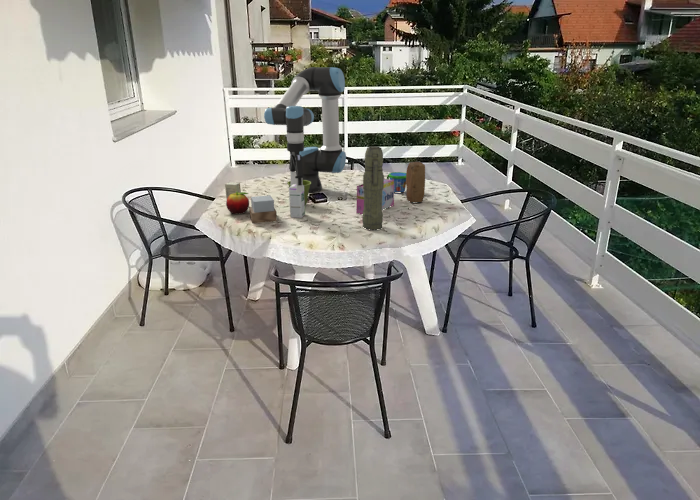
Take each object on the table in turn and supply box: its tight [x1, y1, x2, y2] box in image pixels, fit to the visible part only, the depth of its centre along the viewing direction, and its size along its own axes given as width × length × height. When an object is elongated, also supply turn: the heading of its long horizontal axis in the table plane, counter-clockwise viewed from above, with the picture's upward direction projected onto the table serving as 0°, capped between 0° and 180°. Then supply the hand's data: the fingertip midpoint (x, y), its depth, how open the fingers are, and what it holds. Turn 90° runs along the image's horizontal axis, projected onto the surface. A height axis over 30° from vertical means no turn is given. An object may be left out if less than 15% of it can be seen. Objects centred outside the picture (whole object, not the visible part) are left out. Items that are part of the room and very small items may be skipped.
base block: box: [248, 206, 278, 224], centre depth 239 cm, size 11×11×5 cm
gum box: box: [356, 177, 395, 215], centre depth 254 cm, size 24×8×14 cm, turn 145°
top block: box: [250, 194, 275, 213], centre depth 238 cm, size 9×9×5 cm
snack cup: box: [386, 171, 407, 193], centre depth 286 cm, size 16×10×10 cm
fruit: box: [225, 191, 250, 215], centre depth 247 cm, size 11×11×10 cm
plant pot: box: [287, 180, 311, 206], centre depth 261 cm, size 12×12×11 cm
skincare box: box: [224, 181, 242, 200], centre depth 255 cm, size 6×4×12 cm
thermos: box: [361, 145, 385, 231], centre depth 223 cm, size 9×12×35 cm
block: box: [405, 161, 426, 203], centre depth 267 cm, size 11×8×20 cm
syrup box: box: [288, 184, 306, 219], centre depth 242 cm, size 6×6×14 cm
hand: (296, 188), depth 240 cm, fingers open, 13 cm apart
